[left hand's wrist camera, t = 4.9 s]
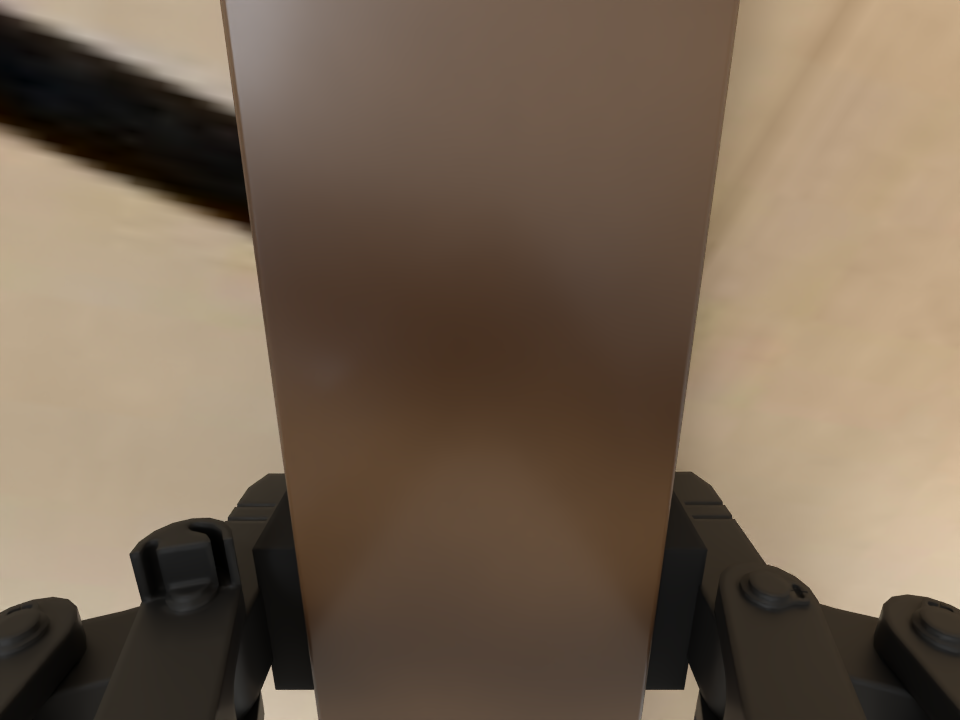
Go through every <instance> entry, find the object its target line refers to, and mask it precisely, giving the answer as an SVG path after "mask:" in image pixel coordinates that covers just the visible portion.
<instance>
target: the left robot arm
mask: <svg viewBox="0 0 960 720" xmlns="http://www.w3.org/2000/svg"><path fill="white" fill-rule="evenodd" d="M130 558H131V562H132V566H133V570H134V574H135V577H136V581H137V585H138V589H139V593H140V597H141V600H142V602H141V605H140V606H139V607H136V608H132V609H129V610H126V611H122V612H117V613H113V614H108V615H104V616H100V617H95V618H91V619H87V620H82V621H81V618H80V615H79V612H78V609H77V606H75V605H74V604H73V603H72V602H71V601H70V600H69V599H63V598H56V597H49V598H42V599H35V600H31V601H28V602H25V603H22V604H18V605H16V606H13V607H10V608H8V609H6V610H4V611H2V612H1V613H0V720H264V707H263V700H262V694H261V689H262V686H263V684H264V681H265V679H266V676H267V674H268V672H269V669H270V667H271V665H272V671H273V677H274V683H275V689H276V690H314V683H313V676H312V669H311V661H310V654H309V647H308V639H307V632H306V625H305V617H304V610H303V603H302V596H301V588H300V581H299V574H298V566H297V559H296V552H295V544H294V537H293V530H292V523H291V515H290V508H289V501H288V493H287V486H286V479H285V474H267V475H266V476H264V477H263V478H262V479H260V480H259V481H257V482H256V483H255V484H253V485H252V486H250V487H249V488H248V489H247V491H246V492H245V494H244V495H243V497H242V498H241V499H240V501H239V502H238V504H237V507H235V508H234V509H233V511H232V512H231V514H230V515H229V517H228V521H225V522H223V521H220V520H216V519H212V518H192V519H188V520H184V521H179V522H175V523H172V524H170V525H167V526H165V527H163V528H161V529H158V530H156V531H154V532H153V533H151V534H150V535H148V536H147V537H145V538H144V539H143V540H141V541H140V542H139V543H138V544H137V545H136V546H135V548H134V549H133V550H132V552H131V553H130ZM688 663H689V665H690V667H691V670H692V672H693V674H694V677H695V679H696V682H697V684H698V687H699V694H698V700H697V705H696V711H695V716H694V720H960V610H959V609H957V608H955V607H953V606H951V605H949V604H946V603H944V602H940V601H938V600H934V599H931V598H928V597H922V596H915V595H901V596H894V597H891V598H890V599H889V600H888V601H887V602H885V603H884V604H883V607H882V610H881V614H880V617H879V618H875V617H871V616H867V615H862V614H858V613H853V612H849V611H845V610H840V609H836V608H832V607H829V606H825V605H822V604H819V601H818V600H817V598H816V597H815V595H814V594H813V593H812V591H811V590H810V588H809V587H808V586H806V585H805V584H804V583H803V582H801V581H800V580H799V579H798V578H796V577H795V576H793V575H791V574H789V573H787V572H785V571H783V570H781V569H779V568H777V567H774V566H770V565H766V563H765V562H764V560H763V559H762V558H761V556H760V555H759V553H758V552H757V550H756V549H755V548H754V546H753V545H752V543H751V542H750V540H749V539H748V538H747V536H746V535H745V533H744V532H743V530H742V529H741V528H740V526H739V525H738V523H737V522H736V520H735V519H732V515H731V513H730V512H729V510H728V509H727V508H726V506H725V505H723V502H722V500H721V499H720V498H719V496H718V495H717V493H716V492H715V490H714V489H713V488H712V486H711V485H709V484H708V483H707V482H705V481H704V480H702V479H701V478H699V477H698V476H697V475H695V474H694V473H692V472H675V476H674V484H673V491H672V498H671V506H670V513H669V520H668V528H667V535H666V542H665V549H664V557H663V564H662V571H661V579H660V586H659V593H658V601H657V608H656V615H655V622H654V630H653V637H652V644H651V652H650V659H649V666H648V674H647V681H646V688H645V690H684V687H685V681H686V675H687V669H688Z"/></svg>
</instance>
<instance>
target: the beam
mask: <svg viewBox="0 0 960 720" xmlns="http://www.w3.org/2000/svg"><path fill="white" fill-rule="evenodd" d="M739 2H740V0H220V4H221V11H222V19H223V26H224V33H225V40H226V48H227V55H228V62H229V70H230V77H231V84H232V92H233V99H234V106H235V113H236V121H237V128H238V135H239V143H240V150H241V157H242V165H243V172H244V179H245V187H246V194H247V201H248V208H249V216H250V223H251V230H252V238H253V245H254V252H255V260H256V267H257V274H258V281H259V289H260V296H261V303H262V311H263V318H264V325H265V333H266V340H267V347H268V355H269V362H270V369H271V376H272V384H273V391H274V398H275V406H276V413H277V420H278V428H279V435H280V442H281V449H282V457H283V464H284V471H285V479H286V486H287V493H288V501H289V508H290V515H291V523H292V530H293V537H294V544H295V552H296V559H297V566H298V574H299V581H300V588H301V596H302V603H303V610H304V617H305V625H306V632H307V639H308V647H309V654H310V661H311V669H312V676H313V683H314V691H315V698H316V705H317V712H318V720H641V717H642V710H643V703H644V695H645V688H646V681H647V674H648V666H649V659H650V652H651V644H652V637H653V630H654V622H655V615H656V608H657V601H658V593H659V586H660V579H661V571H662V564H663V557H664V549H665V542H666V535H667V528H668V520H669V513H670V506H671V498H672V491H673V484H674V476H675V469H676V462H677V455H678V447H679V440H680V433H681V425H682V418H683V411H684V403H685V396H686V389H687V381H688V374H689V367H690V360H691V352H692V345H693V338H694V330H695V323H696V316H697V308H698V301H699V294H700V287H701V279H702V272H703V265H704V257H705V250H706V243H707V235H708V228H709V221H710V214H711V206H712V199H713V192H714V184H715V177H716V170H717V162H718V155H719V148H720V141H721V133H722V126H723V119H724V111H725V104H726V97H727V89H728V82H729V75H730V68H731V60H732V53H733V46H734V38H735V31H736V24H737V16H738V9H739Z"/></svg>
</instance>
